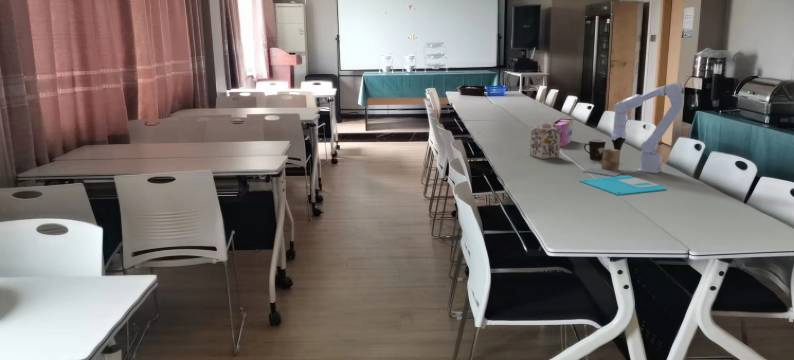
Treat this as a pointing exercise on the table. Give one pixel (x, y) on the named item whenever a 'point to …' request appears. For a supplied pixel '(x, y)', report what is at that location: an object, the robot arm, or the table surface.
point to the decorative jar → (545, 142)
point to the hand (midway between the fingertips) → (617, 152)
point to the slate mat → (603, 172)
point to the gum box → (564, 130)
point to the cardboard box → (610, 159)
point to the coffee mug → (596, 148)
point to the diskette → (623, 185)
